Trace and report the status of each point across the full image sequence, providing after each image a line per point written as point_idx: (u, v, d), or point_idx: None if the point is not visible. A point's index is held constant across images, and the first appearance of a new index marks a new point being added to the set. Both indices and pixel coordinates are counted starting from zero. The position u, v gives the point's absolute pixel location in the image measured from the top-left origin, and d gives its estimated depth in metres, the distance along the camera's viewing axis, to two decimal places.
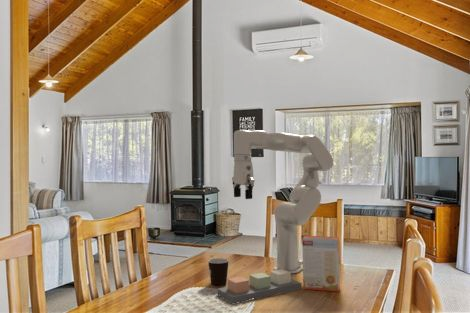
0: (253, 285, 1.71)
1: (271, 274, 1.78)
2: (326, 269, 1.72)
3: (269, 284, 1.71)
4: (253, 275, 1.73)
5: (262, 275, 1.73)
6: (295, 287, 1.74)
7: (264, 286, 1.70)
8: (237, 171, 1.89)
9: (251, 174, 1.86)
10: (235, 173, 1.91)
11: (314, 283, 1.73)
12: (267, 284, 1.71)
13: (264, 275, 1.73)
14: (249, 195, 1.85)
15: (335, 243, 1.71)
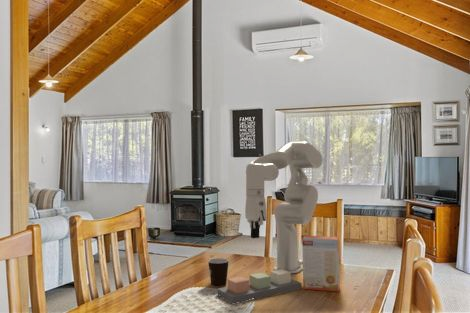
0: (253, 285, 1.71)
1: (271, 274, 1.78)
2: (326, 269, 1.72)
3: (269, 284, 1.71)
4: (253, 275, 1.73)
5: (262, 275, 1.73)
6: (295, 287, 1.74)
7: (264, 286, 1.70)
8: (249, 207, 1.79)
9: (264, 210, 1.77)
10: (247, 208, 1.81)
11: (314, 283, 1.73)
12: (267, 284, 1.71)
13: (264, 275, 1.73)
14: (256, 234, 1.79)
15: (335, 243, 1.71)
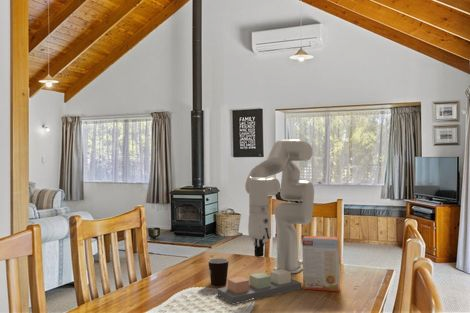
0: (253, 285, 1.71)
1: (271, 274, 1.78)
2: (326, 269, 1.72)
3: (269, 284, 1.71)
4: (253, 275, 1.73)
5: (262, 275, 1.73)
6: (295, 287, 1.74)
7: (264, 286, 1.70)
8: (253, 224, 1.71)
9: (268, 228, 1.68)
10: (250, 225, 1.73)
11: (314, 283, 1.73)
12: (267, 284, 1.71)
13: (264, 275, 1.73)
14: (260, 253, 1.71)
15: (335, 243, 1.71)
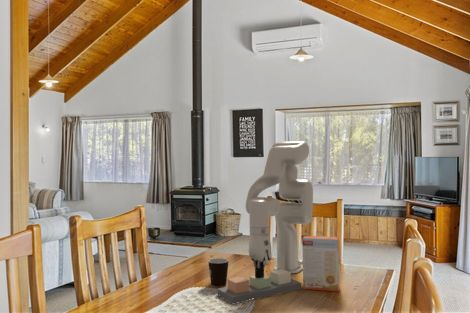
0: None
1: (271, 274, 1.78)
2: (326, 269, 1.72)
3: (269, 286, 1.71)
4: (253, 277, 1.73)
5: None
6: (295, 287, 1.74)
7: None
8: (253, 245, 1.71)
9: (269, 249, 1.69)
10: (251, 246, 1.73)
11: (314, 283, 1.73)
12: (267, 285, 1.71)
13: (264, 276, 1.73)
14: (261, 274, 1.71)
15: (335, 243, 1.71)
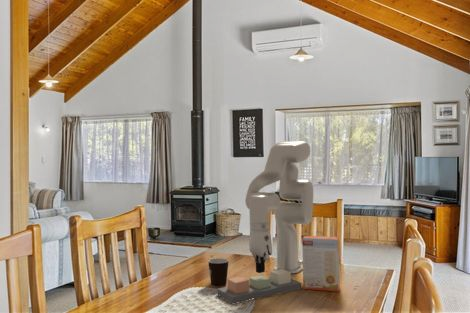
0: None
1: (271, 274, 1.78)
2: (326, 269, 1.72)
3: None
4: (253, 278, 1.73)
5: (262, 277, 1.73)
6: (295, 287, 1.74)
7: None
8: (253, 240, 1.72)
9: (269, 245, 1.69)
10: (251, 242, 1.73)
11: (314, 283, 1.73)
12: (267, 286, 1.71)
13: (264, 277, 1.73)
14: (261, 269, 1.72)
15: (335, 243, 1.71)
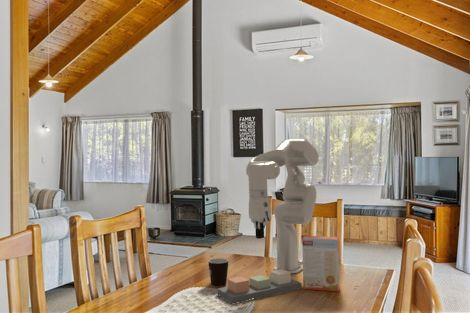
0: None
1: (271, 274, 1.78)
2: (326, 269, 1.72)
3: None
4: (253, 278, 1.73)
5: (262, 277, 1.73)
6: (295, 287, 1.74)
7: None
8: (253, 207, 1.77)
9: (268, 211, 1.75)
10: (251, 209, 1.79)
11: (314, 283, 1.73)
12: (267, 286, 1.71)
13: (264, 277, 1.73)
14: (261, 234, 1.78)
15: (335, 243, 1.71)
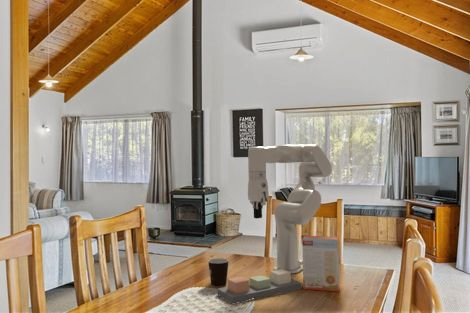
0: None
1: (271, 274, 1.78)
2: (326, 269, 1.72)
3: None
4: (253, 278, 1.73)
5: (262, 277, 1.73)
6: (295, 287, 1.74)
7: None
8: (252, 188, 1.86)
9: (266, 191, 1.84)
10: (250, 190, 1.88)
11: (314, 283, 1.73)
12: (267, 286, 1.71)
13: (264, 277, 1.73)
14: (259, 214, 1.86)
15: (335, 243, 1.71)
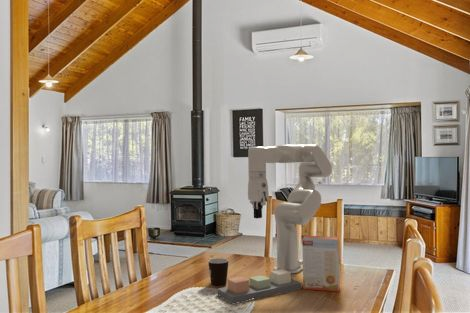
0: None
1: (271, 274, 1.78)
2: (326, 269, 1.72)
3: None
4: (253, 278, 1.73)
5: (262, 277, 1.73)
6: (295, 287, 1.74)
7: None
8: (252, 188, 1.86)
9: (266, 191, 1.84)
10: (250, 190, 1.88)
11: (314, 283, 1.73)
12: (267, 286, 1.71)
13: (264, 277, 1.73)
14: (259, 214, 1.86)
15: (335, 243, 1.71)
